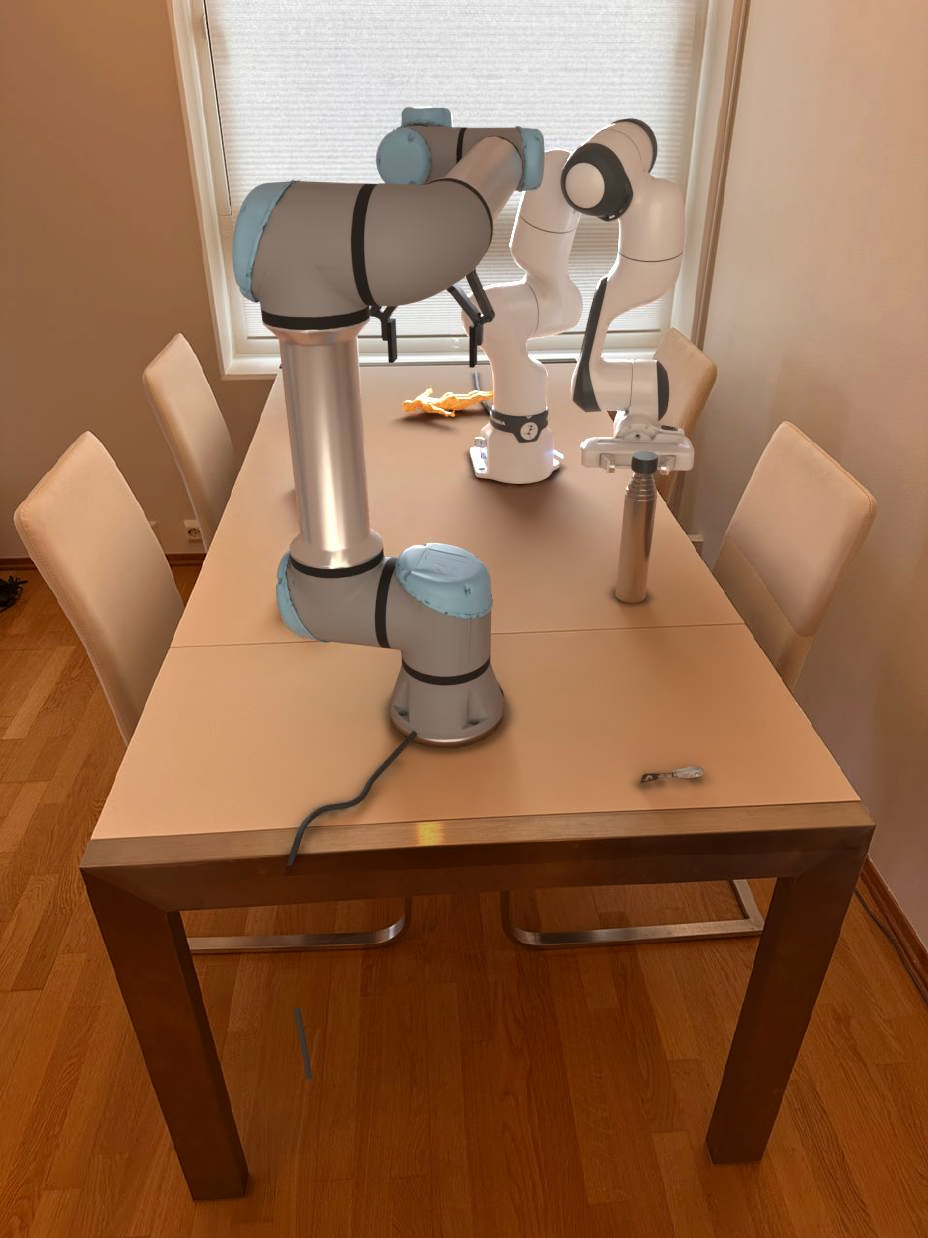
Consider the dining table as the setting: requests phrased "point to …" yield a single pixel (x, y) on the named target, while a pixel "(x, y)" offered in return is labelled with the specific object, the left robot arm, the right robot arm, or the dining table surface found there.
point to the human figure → (445, 402)
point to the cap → (644, 462)
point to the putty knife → (674, 774)
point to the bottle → (636, 538)
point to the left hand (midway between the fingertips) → (432, 363)
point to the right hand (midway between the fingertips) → (637, 469)
